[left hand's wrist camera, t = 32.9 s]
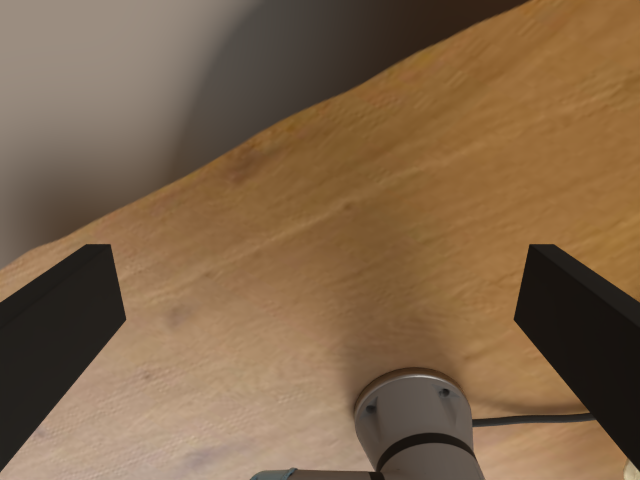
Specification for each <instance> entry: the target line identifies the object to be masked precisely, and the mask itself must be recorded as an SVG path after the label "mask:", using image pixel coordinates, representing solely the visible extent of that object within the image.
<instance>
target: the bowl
mask: <svg viewBox="0 0 640 480" xmlns="http://www.w3.org/2000/svg"><path fill="white" fill-rule="evenodd" d="M623 476H624V480H640V472H639V471H638V470H637V468H636V467H635V466H634V465H633V464H632V462H631V461H630V460H629V459H627V461H626V463H625V466H624V469H623Z"/></svg>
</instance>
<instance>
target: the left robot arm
mask: <svg viewBox="0 0 640 480" xmlns="http://www.w3.org/2000/svg"><path fill="white" fill-rule="evenodd" d="M125 321H126V316H125V311H124V306H123V301H122V297H121V292H120V287H119V282H118V278H117V273H116V268H115V263H114V259H113V254H112V249H111V244H86V245H84V246H83V247H81V248H80V249H78V250H77V251H75V252H74V253H73V254H71V255H70V256H68V257H67V258H65V259H64V260H62V261H61V262H59V263H58V264H56V265H55V266H53V267H52V268H50V269H49V270H48V271H46V272H45V273H43V274H42V275H40V276H39V277H37V278H36V279H34V280H33V281H31V282H30V283H28V284H27V285H25V286H24V287H23V288H21V289H20V290H18V291H17V292H15V293H14V294H12V295H11V296H9V297H8V298H6V299H5V300H3V301H2V302H0V472H1V471H2V470H3V468H4V467H5V466H6V465H7V464H8V462H9V461H10V460H11V459H12V458H13V456H14V455H15V454H16V453H17V451H18V450H19V449H20V448H21V447H22V445H23V444H24V443H25V442H26V441H27V439H28V438H29V437H30V436H31V435H32V433H33V432H34V431H35V430H36V428H37V427H38V426H39V425H40V424H41V422H42V421H43V420H44V419H45V418H46V416H47V415H48V414H49V413H50V412H51V410H52V409H53V408H54V407H55V405H56V404H57V403H58V402H59V401H60V399H61V398H62V397H63V396H64V395H65V393H66V392H67V391H68V390H69V389H70V387H71V386H72V385H73V384H74V382H75V381H76V380H77V379H78V378H79V376H80V375H81V374H82V373H83V372H84V370H85V369H86V368H87V367H88V366H89V364H90V363H91V362H92V361H93V359H94V358H95V357H96V356H97V355H98V353H99V352H100V351H101V350H102V349H103V347H104V346H105V345H106V344H107V343H108V341H109V340H110V339H111V338H112V336H113V335H114V334H115V333H116V332H117V330H118V329H119V328H120V327H121V326H122V324H123V323H124V322H125ZM514 321H515V322H516V323H517V324H518V326H519V327H520V328H521V329H522V330H523V332H524V333H525V334H526V335H527V336H528V338H529V339H530V340H531V341H532V343H533V344H534V345H535V346H536V347H537V349H538V350H539V351H540V352H541V353H542V355H543V356H544V357H545V358H546V359H547V361H548V362H549V363H550V364H551V366H552V367H553V368H554V369H555V370H556V372H557V373H558V374H559V375H560V376H561V378H562V379H563V380H564V381H565V382H566V384H567V385H568V386H569V387H570V389H571V390H572V391H573V392H574V393H575V395H576V396H577V397H578V398H579V399H580V401H581V402H582V403H583V404H584V405H585V407H586V408H587V409H588V410H589V412H590V413H584V414H573V415H527V416H511V417H501V418H488V419H472V415H471V409H470V405H469V403H468V401H467V399H466V397H465V394H464V392H463V391H462V389H461V388H460V386H459V385H458V384H457V383H456V382H455V381H454V380H453V379H451V378H450V377H448V376H447V375H445V374H443V373H440V372H438V371H435V370H431V369H425V368H405V369H400V370H396V371H392V372H390V373H387V374H385V375H383V376H381V377H379V378H377V379H376V380H374V381H373V382H372V383H370V384H369V385H368V386H367V387H366V388H365V389H364V391H363V392H362V393H361V395H360V396H359V398H358V400H357V403H356V406H355V411H354V419H355V428H356V433H357V436H358V439H359V441H360V443H361V445H362V447H363V449H364V451H365V453H366V455H367V457H368V459H369V460H370V462H371V464H372V466H373V468H374V470H375V472H367V471H319V470H298V469H297V468H291V469H289V470H273V471H261V472H259V473H257V474H255V475H254V476H253V477H252V478H251V479H250V480H485V478H484V476H483V473H482V471H481V469H480V466H479V464H478V462H477V459H476V457H475V454H474V451H473V431H472V427H484V426H498V425H508V424H519V423H567V422H582V421H591V420H597V421H598V422H599V424H600V425H601V426H602V427H603V428H604V430H605V431H606V432H607V433H608V435H609V436H610V437H611V438H612V439H613V441H614V442H615V443H616V444H617V445H618V447H619V448H620V449H621V450H622V451H623V453H624V454H625V455H626V456H627V458H628V459H629V460H630V461H631V462H632V464H633V465H634V466H635V467H636V468H637V470H638V471H639V472H640V302H638V301H637V300H635V299H634V298H632V297H631V296H629V295H628V294H626V293H625V292H623V291H622V290H620V289H619V288H617V287H616V286H615V285H613V284H612V283H610V282H609V281H607V280H606V279H604V278H603V277H601V276H600V275H598V274H597V273H595V272H594V271H592V270H591V269H590V268H588V267H587V266H585V265H584V264H582V263H581V262H579V261H578V260H576V259H575V258H573V257H572V256H570V255H569V254H567V253H566V252H565V251H563V250H562V249H560V248H559V247H557V246H556V245H554V244H529V249H528V254H527V259H526V263H525V268H524V273H523V278H522V282H521V287H520V292H519V297H518V301H517V306H516V311H515V316H514Z"/></svg>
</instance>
